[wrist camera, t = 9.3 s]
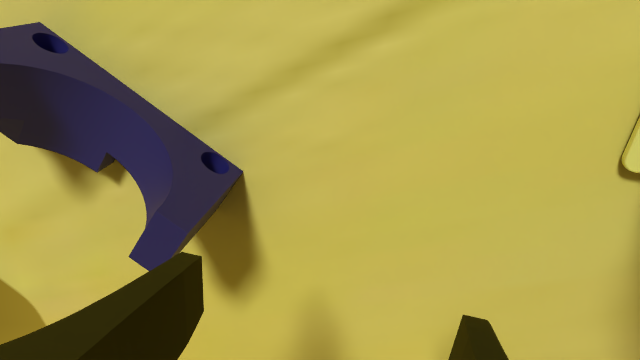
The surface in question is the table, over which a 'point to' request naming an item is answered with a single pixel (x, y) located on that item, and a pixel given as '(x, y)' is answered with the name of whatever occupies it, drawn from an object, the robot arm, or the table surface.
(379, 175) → the table surface
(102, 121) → the cable clip
